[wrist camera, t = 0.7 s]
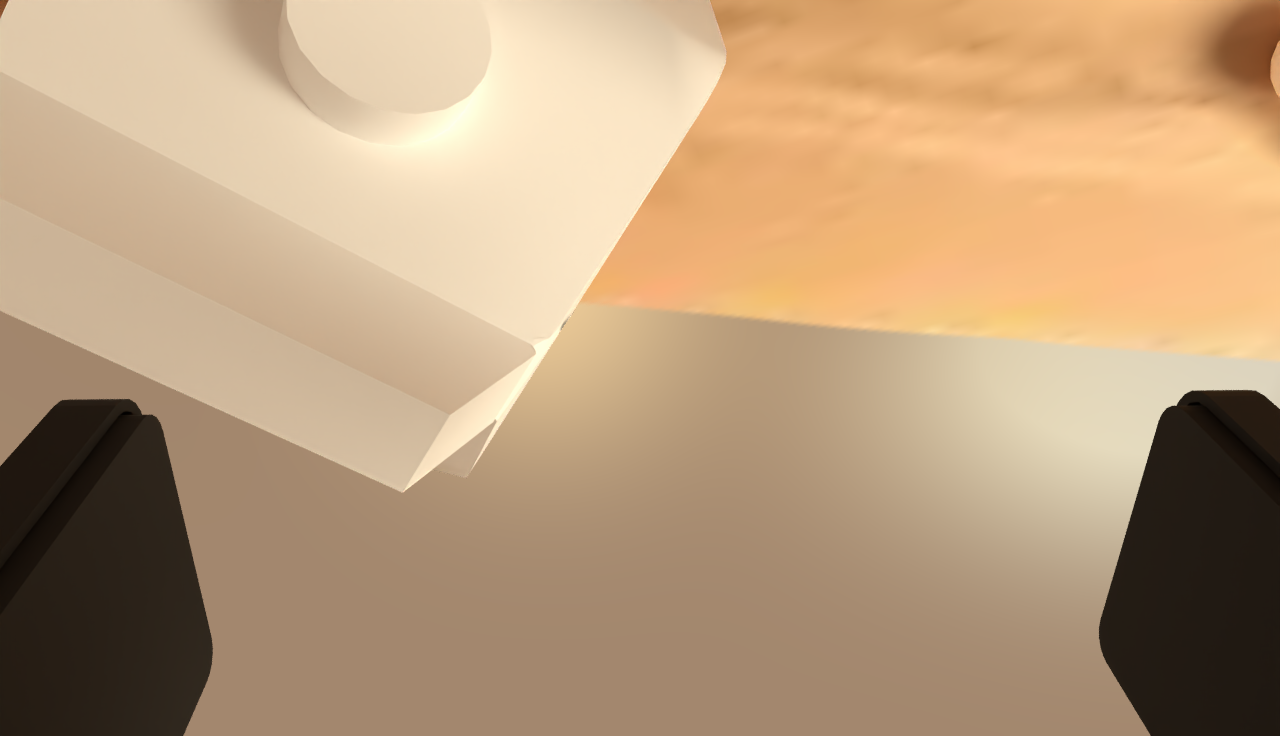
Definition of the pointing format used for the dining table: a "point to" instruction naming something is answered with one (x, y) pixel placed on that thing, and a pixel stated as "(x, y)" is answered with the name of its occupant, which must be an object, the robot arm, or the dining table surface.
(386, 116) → the milk
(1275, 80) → the tangled rod sculpture
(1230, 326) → the dining table surface
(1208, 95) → the dining table surface
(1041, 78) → the dining table surface
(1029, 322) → the dining table surface
